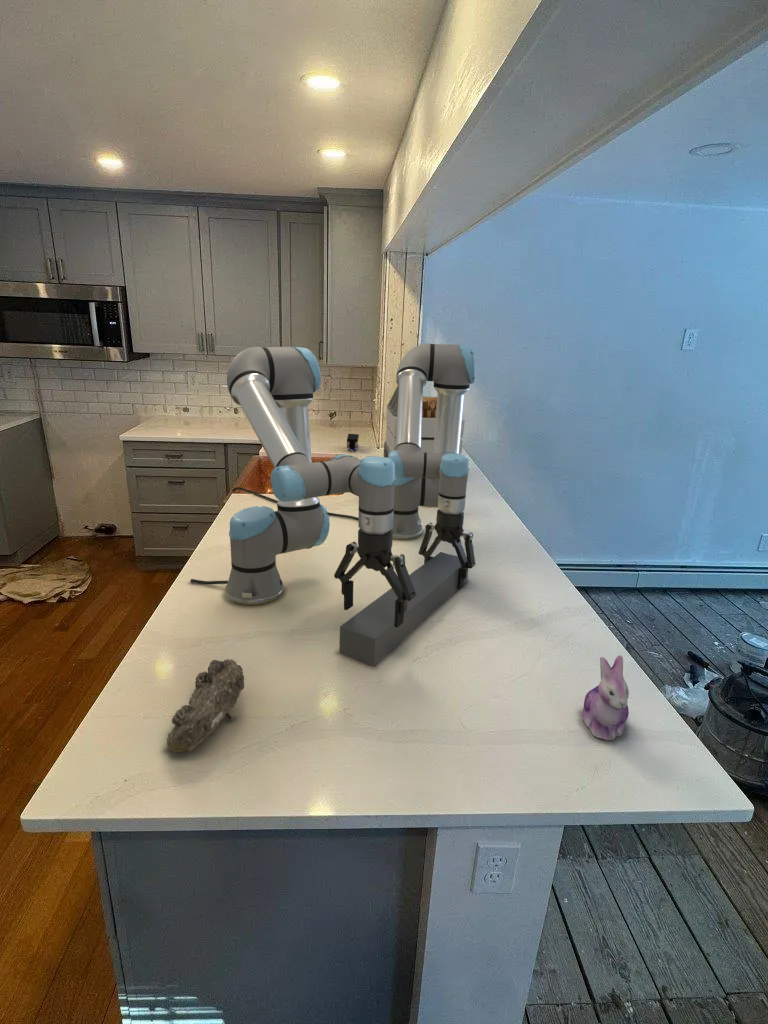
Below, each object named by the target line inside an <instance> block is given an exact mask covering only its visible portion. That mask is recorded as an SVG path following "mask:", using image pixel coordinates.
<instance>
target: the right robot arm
mask: <svg viewBox="0 0 768 1024" xmlns="http://www.w3.org/2000/svg"><path fill="white" fill-rule="evenodd" d="M474 352H475V351H474V349H473V348H472V347H471V346H470V345H463V344H447V343H446V344H443V343H429V342H426V343H421V344H418V345H415V346H413V348H411V349H410V350H409V351H407V353H405V355H404V356H403V357H402V359H401V360H400V362H399V364H398V367H397V369H396V374H395V375H396V376H395V382H396V385H397V386H399V394H398V411H397V427H396V444H395V450H394V451H389V453H388V458H389V459H391V460H392V461H393V462H394V464H395V478H396V480H395V492H394V508H393V510H394V512H393V528H392V529H391V530H392V531H393V539H392V540H395V541H410V540H415V539H418V538H420V537H421V536H422V535H423V525H422V520H421V518H420V515H419V507H427V508H429V507H431V508H437V510H436V518H435V519H436V523H435V524H434V523H433V522H429V523H427V524H426V525H424V526H425V533H424V535H423V538H422V541H421V544H420V547H419V550H418V555H420V556H423V558H424V560H423V564H425V563H426V562H428V561H429V560H430V559H432V558H433V557H434V556H432V555H433V554H434V553H435V550H436V549H437V547H438V546H439V545H440V543H441V542H443V543H444V542H445V543H449V544H451V546H452V547H453V548H454V551H455V553H456V556H458V558H459V561H460V564H461V567H460V568H459V575H458V585H457V589H458V590H457V591H459V590H461V589H462V588H463V587H464V586H465V584H464V579H465V578H467V576H468V577H469V570H471V569H473V568H474V567H475V566H476V558H475V551H474V543H473V538H474V533H473V532H471V531H470V532H467V531H465V530H464V527H463V526H464V519H465V512H464V511H465V509H466V498H467V497H466V496H467V487H468V479H469V472H470V459H469V457H468V456H466V455H464V454H462V453H461V454H459V445H460V439H461V438H460V434H461V422H462V419H463V410H464V399H465V394H466V393H467V392H468V391H470V386H471V385H472V384H474V383H475V382H476V360H475V359H476V357H475V353H474ZM427 382H433V389H434V390H435V391H436V393H437V396H436V397H437V409H436V423H435V436H434V450H433V453H426V452H421V429H422V403H423V397H424V387H425V386H426V384H427ZM237 490H239V491H244V492H246V493H250V494H254V495H255V496H258V497H260V498H263V499H266V500H268V501H270V502H274V503H276V504H277V502H278V501H279V500H278V499H274V498H272V497H269V496H266V495H263V494H262V493H259V492H256V491H253V490H251V489H247V488H244V487H242V486H241V487H240V486H237V487H236V486H235V487H234V488H233V489H232V490H231V491H232V492H235V491H237ZM327 515H329V516H332V517H339V518H346V519H352V520H356V521H358V518H359V516H358V517H357V516H354V515H348V514H340V513H334V512H328V511H327ZM434 531H435V532H436V534H437V536H436V537H435V538H434V540H433V542H432V543H431V545H430V546H429V544H430V541H431V539H432V536H433V532H434ZM462 537H463V538H462ZM461 538H462V539H463V541H464V547H463V542H462V539H461ZM428 546H429V547H428ZM464 549H465V550H464ZM467 579H468V578H467Z"/></svg>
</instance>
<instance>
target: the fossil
mask: <svg viewBox="0 0 768 1024" xmlns="http://www.w3.org/2000/svg"><path fill="white" fill-rule="evenodd" d="M243 670H244V669H243V667H242V665H240V664H237V662H236V661H235V660H234V659H232V658H231V659H227V658H226V659H224V660H223V661H222V660H217V659H212V660H211V661H210V663H209V665H208V666H207V671H201V672H199V673H198V674H197V675H196V676H195V680H194V684H195V685H194V687H195V689H194V690H193V693H192V694H191V697H190V698H189V700H188V704H184V705H182V706H181V707H180V709H177V710H176V711H175V713H174V715H173V716H172V718H171V723H172V724H173V727H172V730H171V731H170V732H168V734H167V738H166V741H167V742H166V745H167V749H168V750H169V751H173V752H174V753H176V754H178V753H182V752H188V751H189V752H192V751H193V750H195V748H196V747H197V746H199V744H200V743H201V742H203V741H204V740H205V739H206V738H207V737H208V736H209V735H210V734H211V733H212V732H214V730H215V729H217V727H218V726H219V724H220V722H221V721H222V720H223V719H224V718H225V716H226V717H227V719H229V720H233V717H232V715H230V714H229V710H230V709H231V708H234V706H235V704H236V703H237V702H238V699H239V697H240V695H241V693H242V691H243V690H245V689H244V688H245V675H244V671H243Z"/></svg>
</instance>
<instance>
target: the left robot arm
mask: <svg viewBox="0 0 768 1024" xmlns="http://www.w3.org/2000/svg"><path fill="white" fill-rule="evenodd" d="M321 381H322V374H321V368H320V364H319V361H318V359H317V358H316V356H315V355H314V353H313V351H311V350H310V349H309V348H306V347H299V346H250V347H248V348H245V349H243V350H241V351H240V352H239V353H237V354H236V355H235V356H234V357H233V359H232V360H231V361H230V364H229V366H228V369H227V372H226V385H227V390H228V393H229V396H230V397H231V399H232V400H233V402H234V403H235V404H237V405H238V406H240V407H241V408H242V410H243V412H244V415H245V416H246V418H247V420H248V421H249V423H250V426H251V428H252V429H253V432H254V433H255V435H256V437H257V439H258V440H259V442H260V444H261V446H262V448H263V450H264V452H265V454H266V455H267V457H268V459H269V462H270V463H271V466H272V467H273V469H272V471H271V473H270V486H271V488H272V493H273V495H274V497H275V498H276V500H277V501H278V502H277V503H276V507H277V510H274V509H273V508H272V507H270V506H265V505H262V506H258V505H256V506H250V507H245V508H242V509H240V510H238V511H237V512H236V513H234V514H233V515H232V516H231V518H230V520H229V531H228V536H229V543H230V545H229V547H230V562H231V568H230V569H231V570H230V573H229V577H228V580H201V579H195V578H191V579H190V583H194V584H200V585H226V586H225V596H226V598H227V599H228V600H229V601H230V602H232V603H234V604H237V605H241V606H248V607H249V606H251V607H253V606H262V605H267V604H271V603H272V602H275V601H276V600H278V599H280V597H282V595H283V593H284V583H283V579H282V577H281V575H280V573H279V570H278V567H277V556H278V555H281V554H287V553H291V552H296V551H301V550H310V549H312V548H314V547H318V546H321V545H322V544H324V543H325V541H326V540H327V538H328V536H329V532H330V526H331V524H330V515H327V512H328V510H327V508H326V507H325V505H323V504H321V501H320V499H319V498H320V497H326V496H327V497H328V496H335V495H339V494H340V495H341V494H346V493H350V494H352V495H354V496H356V497H358V520H357V522H358V524H357V527H358V528H359V529H358V531H357V542H356V541H352V542H350V543H348V544H346V546H345V551H344V555H343V557H342V558H341V561H340V562H339V564H338V566H337V569H336V570H335V572H334V574H333V577H334V579H336V580H339V581H340V583H341V591H340V592H341V595H343V610H344V611H348V610H350V608H353V606H354V580H351V579H352V578H353V577H354V576H355V575H356V574H357V573H358V572H359V571H360V570H361V569H362V568H363V567H365V568H366V569H368V570H373V571H375V572H380V574H381V575H382V576H384V578H385V579H386V581H387V583H388V584H389V586H390V588H392V589H393V591H394V592H395V594H396V596H397V597H398V599H397V600H395V622H394V627H397V628H398V627H399V626H400V625H401V624H402V623H403V618H404V613H405V612H406V611H407V604H408V601H411V600H412V599H413V598H414V597H416V592H415V589H414V587H413V584H412V581H411V579H410V576H409V575H410V574H409V571H408V568H407V566H406V557H405V555H404V554H403V553H401V554H400V555H397V554H393V552H392V547H393V540H394V539H393V531H392V530H391V529H392V528H393V512H394V510H393V508H394V492H395V480H396V478H395V464H394V462H393V461H392V460H391V459H389V458H386V457H384V456H379V455H372V456H371V455H370V456H366V457H365V456H364V457H363V458H361V459H359V458H357V457H356V456H354V455H350V454H349V455H348V454H337V455H336V456H335V457H333V458H332V459H331V460H325V461H314V462H313V461H312V445H311V433H310V432H311V431H310V419H309V418H310V417H309V406H310V404H311V403H312V402H313V401H314V393H316V392H317V391H319V389H320V387H321ZM356 553H357V554H358V557H359V560H358V561H356V562H355V563H354V565H353V566H352V567H351V568H350V569H349V570H348V571H347V569H348V567H349V566H350V565H351V562H352V560H353V558H354V556H355V555H356ZM346 571H347V572H346Z"/></svg>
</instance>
